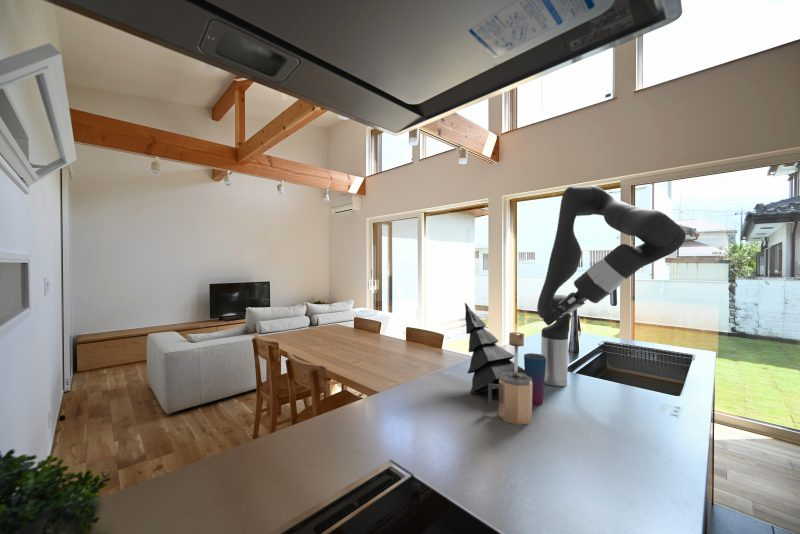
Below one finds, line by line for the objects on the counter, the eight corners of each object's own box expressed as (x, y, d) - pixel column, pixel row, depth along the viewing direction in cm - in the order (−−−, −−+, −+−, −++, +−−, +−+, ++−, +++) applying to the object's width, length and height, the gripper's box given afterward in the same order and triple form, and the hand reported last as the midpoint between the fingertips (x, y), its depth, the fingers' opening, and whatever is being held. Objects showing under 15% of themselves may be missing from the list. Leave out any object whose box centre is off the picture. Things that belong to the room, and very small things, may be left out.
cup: (547, 407, 106) (548, 359, 105) (524, 405, 107) (525, 358, 107) (543, 398, 112) (544, 354, 112) (521, 396, 114) (522, 352, 113)
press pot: (486, 412, 101) (486, 373, 101) (520, 409, 104) (521, 371, 103) (500, 426, 93) (501, 383, 93) (537, 423, 95) (537, 381, 95)
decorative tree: (505, 397, 121) (468, 311, 138) (534, 384, 110) (490, 292, 128) (474, 405, 114) (439, 313, 131) (501, 392, 103) (460, 294, 120)
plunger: (505, 393, 100) (506, 332, 100) (517, 392, 101) (519, 332, 100) (512, 398, 96) (513, 335, 96) (525, 397, 97) (526, 335, 97)
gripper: (593, 269, 92) (548, 307, 99) (581, 270, 81) (531, 312, 88) (615, 290, 88) (567, 327, 96) (606, 294, 77) (552, 336, 85)
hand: (550, 320), depth 92 cm, fingers open, 8 cm apart
